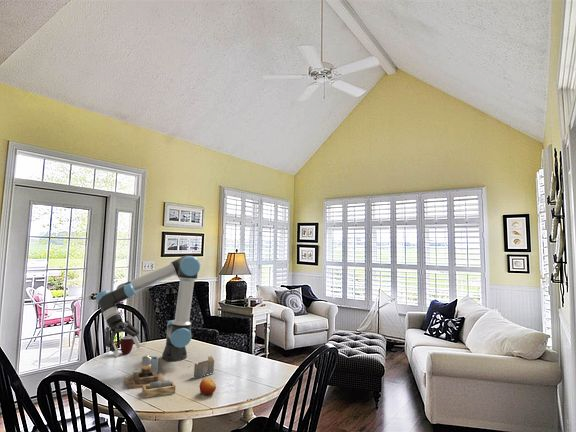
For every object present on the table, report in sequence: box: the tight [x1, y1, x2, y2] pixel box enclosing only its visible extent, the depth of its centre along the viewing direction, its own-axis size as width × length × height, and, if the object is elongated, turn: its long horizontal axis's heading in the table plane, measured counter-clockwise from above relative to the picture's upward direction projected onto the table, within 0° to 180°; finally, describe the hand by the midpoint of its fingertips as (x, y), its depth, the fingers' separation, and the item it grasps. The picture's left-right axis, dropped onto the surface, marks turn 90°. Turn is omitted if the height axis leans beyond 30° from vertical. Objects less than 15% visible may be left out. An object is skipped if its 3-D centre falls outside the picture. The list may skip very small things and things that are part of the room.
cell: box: [140, 354, 153, 377], centre depth 184 cm, size 5×5×12 cm
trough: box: [141, 379, 176, 398], centre depth 170 cm, size 14×7×5 cm, turn 119°
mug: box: [115, 335, 135, 355], centre depth 228 cm, size 11×8×10 cm
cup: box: [151, 355, 159, 373], centre depth 199 cm, size 6×6×7 cm
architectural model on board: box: [193, 355, 215, 379], centre depth 196 cm, size 11×3×10 cm, turn 141°
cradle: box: [124, 370, 166, 390], centre depth 183 cm, size 18×14×4 cm
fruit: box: [199, 377, 217, 396], centre depth 172 cm, size 8×8×8 cm
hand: (128, 351), depth 191 cm, fingers open, 13 cm apart
